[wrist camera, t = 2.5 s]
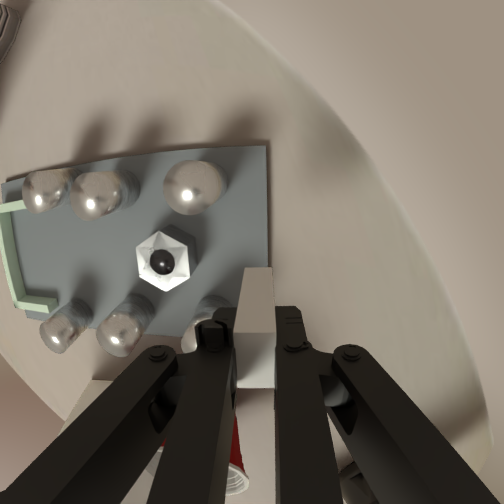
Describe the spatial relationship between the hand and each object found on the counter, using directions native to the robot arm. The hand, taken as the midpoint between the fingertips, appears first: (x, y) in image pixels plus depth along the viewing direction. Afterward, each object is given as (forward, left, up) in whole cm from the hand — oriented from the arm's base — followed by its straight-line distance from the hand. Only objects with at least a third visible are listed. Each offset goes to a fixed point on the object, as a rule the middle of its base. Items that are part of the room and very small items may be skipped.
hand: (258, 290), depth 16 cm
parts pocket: (0, +27, -10) cm, 29 cm away
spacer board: (0, +15, -10) cm, 18 cm away
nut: (0, +8, -9) cm, 12 cm away
